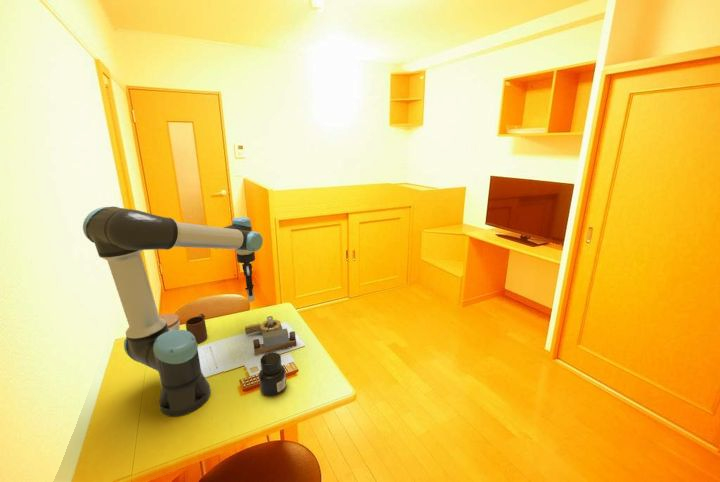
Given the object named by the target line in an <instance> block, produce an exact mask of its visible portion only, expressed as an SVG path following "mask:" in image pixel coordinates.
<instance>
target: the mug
mask: <svg viewBox="0 0 720 482" xmlns="http://www.w3.org/2000/svg"><path fill="white" fill-rule="evenodd" d="M205 319H206V316H205V314H204V313H200V314H199V315H198V316H192V317H190V318H188V319H187V320H186V321H185V329H186V331H189V332H191V333H192V334H193V335H194V337H195V340H196V342H197V344H200V343H203V342H204V341H206V340H207V339H208V332H207V331H208V330H207V325H206V320H205Z"/></svg>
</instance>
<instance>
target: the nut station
mask: <svg viewBox="0 0 720 482" xmlns="http://www.w3.org/2000/svg"><path fill="white" fill-rule="evenodd" d="M266 319H267V320H266V321H267V322H268V326H267V327H266V328H272V327H275V326H274V325H273V320H274V319H273V316H271V315H268V316H267V317H266ZM281 329H283V327H282V325H281ZM281 329H280V330H281ZM259 334H260V336H261V337H263V335H262V334H263V333H262V332H259Z"/></svg>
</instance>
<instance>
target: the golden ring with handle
mask: <svg viewBox="0 0 720 482" xmlns="http://www.w3.org/2000/svg"><path fill="white" fill-rule="evenodd" d="M273 325H274V326H275V327H272V328H266V327H267V326H268V322H267V320H264V321H263V322H262V323H256V324H251V325H247V326H246V325H245V326H244V331H245V335H250V334H251V335H252V334H256V333H260V332H262V333H267V332H272V331H277V330H280V329H281V326H282V323H281V321H280V320H278V319H273Z"/></svg>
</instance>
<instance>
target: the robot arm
mask: <svg viewBox="0 0 720 482" xmlns="http://www.w3.org/2000/svg"><path fill="white" fill-rule="evenodd" d="M82 230H83V234H84V236H85V237H86V238H87V239H88V240H89V241H90V242H92V244H94V245H95V246H94V247H95V249H96V251H97V254H98V257H99V258H101V259H103V260H105V261H107V264H108V267H109V270H110V273H111V276H112V279H113V282H114V285H115V288H116V291H117V294H118V297H119V299H120V303H121V306H122V308H123V312H124V315H125V318H126V321H127V323H128V328H127V329H126V331H125V336H126V337H125V339H124V342H123V350H124V351H125V354H126V355H127V357H129V358H130V359H131V360H133V361H135V362H137V363H140V364H142V365H144V366H147V367H148V368H150V369H153V370H154V371H157V373H158V374H159V378H160V384H161V390H160V395H159V400H158V406H159V410H160V412H161V413H162V414H163V415H165V416H167V417H182V416H185V415H188V414H191V413H192V412H195V411H197V410H198V409H200V408H201V407H202V406H203V405H205V403H206V402H207V401H208V400H209V399H210V396H211V387H210V386H211V385H210V383H209V381H208V379H207V378H206V376H205V375H204V374H203V372H202V367H201V362H200V356H199V347H198V343H197V342H196V340H195V337H194V335H193V334H192V333H191V332H189V331H187V330H185V329H179V331H177V330H172V331H169V329H168V326H167V323H166V320H165V319H164V318H161V317H159V316H160V315H159V311H158V308H157V304H156V301H155V297H154V293H153V291H152V287H151V284H150V281H149V276H148V274H147V270H146V266H145V263H144V260H143V256H142V252H143V251H148V250H149V251H150V250H151V251H152V250H167V251H168V250H171V249H173V248H174V247H178V248H195V249H196V248H197V249H198V248H200V249H214V250H216V249H219V250H221V249H222V250H235V253H236V261H237V263H240V264H241V266H242V271H243V275H244V276H245V284H246V287H245V290H246V295H247V302H248V303H251V302H252V303H253V302H255V294H254V287H255V284H253V276H252V275H253V271H252V270H253V264H252V263H253V262H255V260H256V253H255V252H258V251H259V250H260V249H261V248H262V246H263V235H262V234H261V233H260V232H258V231H253V226H252V222H251V219H250V217H247V216H238V217H234V218H233V219H232V220H231V224H230V225H227V226H224V227H219V226H210V225H203V224H196V223H195V224H194V223H189V222H188V223H186V222H179V221H176V220H175V218H172V217H165V216H162V215H161V216H160V215H157V214H152V213H148V212H145V211H142V210H137V209H131V208H122V207H118V206H113V205H112V206H103V207H97V208H96V209H94V210H92V211H90V212H89V213H88V214H87V215H86V217H85V218H84V221H83V224H82Z"/></svg>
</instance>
